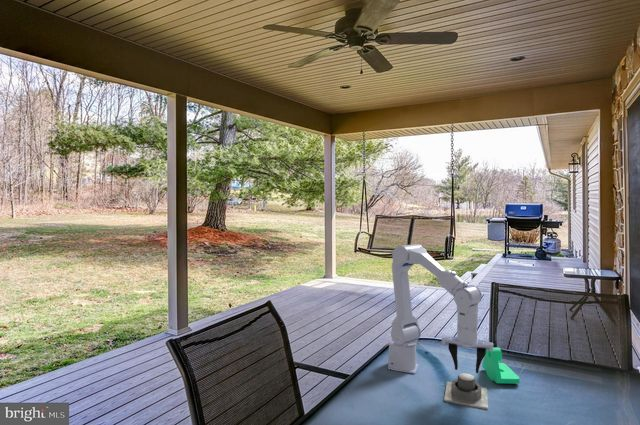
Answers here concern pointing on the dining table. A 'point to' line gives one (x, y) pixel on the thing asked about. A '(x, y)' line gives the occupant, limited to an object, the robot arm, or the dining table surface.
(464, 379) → the gray cylindrical peg
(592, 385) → the dining table surface
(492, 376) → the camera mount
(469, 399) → the white square plate
